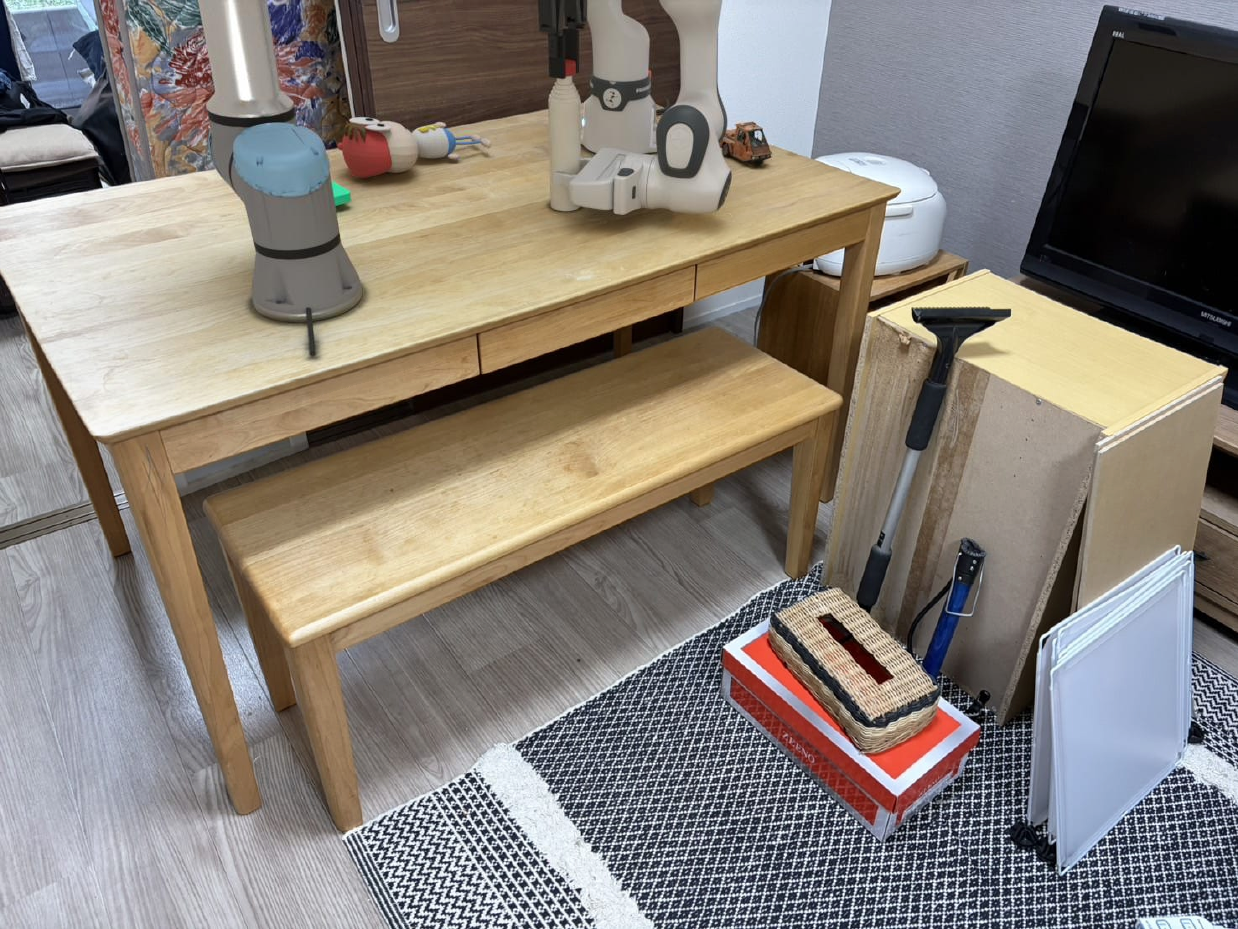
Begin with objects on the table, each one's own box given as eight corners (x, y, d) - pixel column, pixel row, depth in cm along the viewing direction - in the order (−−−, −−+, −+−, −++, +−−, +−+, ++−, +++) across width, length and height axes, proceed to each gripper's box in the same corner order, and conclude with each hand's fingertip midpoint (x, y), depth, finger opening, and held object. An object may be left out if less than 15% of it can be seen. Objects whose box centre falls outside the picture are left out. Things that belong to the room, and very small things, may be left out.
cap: (556, 77, 151) (556, 65, 149) (549, 71, 153) (549, 59, 152) (579, 75, 152) (579, 63, 151) (571, 69, 155) (571, 58, 154)
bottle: (575, 212, 163) (574, 71, 149) (546, 209, 164) (543, 68, 150) (584, 201, 168) (584, 63, 153) (555, 198, 169) (553, 60, 155)
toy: (506, 124, 177) (353, 127, 162) (506, 178, 182) (356, 186, 167) (466, 108, 191) (320, 110, 176) (466, 159, 195) (325, 165, 180)
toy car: (734, 147, 194) (738, 113, 189) (776, 163, 186) (781, 128, 182) (712, 153, 190) (715, 118, 186) (754, 169, 183) (758, 134, 179)
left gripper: (555, -83, 131) (557, 89, 145) (610, -93, 143) (608, 66, 157) (510, -87, 134) (517, 82, 148) (569, -97, 146) (570, 60, 160)
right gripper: (651, 143, 166) (578, 134, 169) (621, 181, 150) (540, 171, 153) (650, 178, 170) (578, 169, 172) (620, 219, 154) (541, 208, 157)
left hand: (564, 74), depth 153 cm, fingers closed on cap, 4 cm apart
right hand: (560, 170), depth 162 cm, fingers closed on bottle, 5 cm apart
